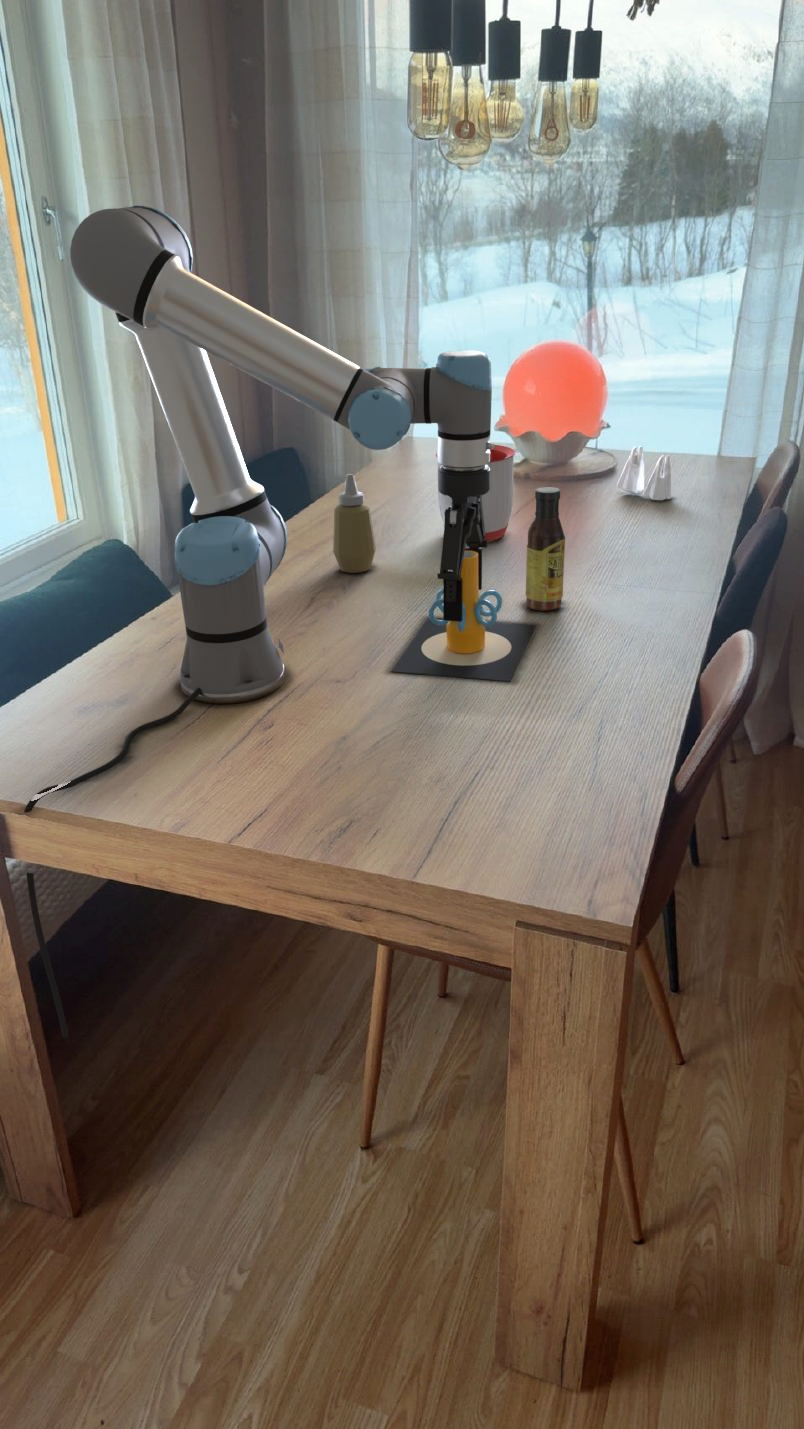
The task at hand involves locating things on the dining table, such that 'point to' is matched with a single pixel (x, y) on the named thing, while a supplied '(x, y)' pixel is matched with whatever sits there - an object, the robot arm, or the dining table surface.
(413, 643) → the mat
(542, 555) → the sauce bottle
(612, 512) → the dining table surface
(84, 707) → the dining table surface
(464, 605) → the cylinder
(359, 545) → the squeeze bottle
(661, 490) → the shaker set
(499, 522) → the citrus juicer
